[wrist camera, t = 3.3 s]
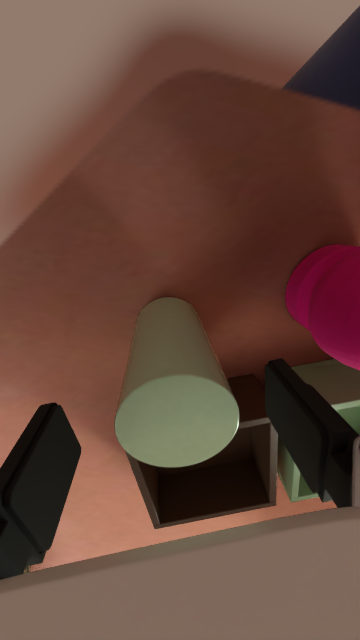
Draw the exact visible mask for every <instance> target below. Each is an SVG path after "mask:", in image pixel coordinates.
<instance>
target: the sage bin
mask: <svg viewBox="0 0 360 640" xmlns="http://www.w3.org/2000/svg"><path fill="white" fill-rule="evenodd" d="M291 368H292V369H293V370H294V371H295V372H296V373H297V374H298V376H299V377H300V378H301V379H302V380H303V381H304V382H305V383H306V384H310V385H311V386H313V387H314V388H315V389H316V390H317V391H318V392H319V394H320V395H321V396H322V397H323V398H324V399H325V400H326V401H327V402H328V403H329V404H330V405H331V406H332V407H333V408H334V409H335V410H336V411H337V412H338V413H339V414H340V415H341V416H342V417H343V418H344V419H345V420H346V422H347V423H348V424H349V425H350V426H351V427H352V428H353V429H354V430H355V431H356V432H357V433H358V434H359V435H360V370H357V369H355V368H352V367H350V366H347V365H344V364H343V363H341V362H339V361H338V360H336V359H331V360H325V361H320V362H315V363H309V364H304V365H299V366H293V367H291ZM277 473H278V475H279V478H280V480H281V482H282V484H283V486H284V488H285V490H286V492H287V495H288V497H289V499H290V501H291V502H295V501H300V500H305V499H311V498H316V497H319V496H318V494H317V493H313V492H312V491H311V490H310V488H309V487H308V485H307V483H306V482H305V480H304V478H303V476H302V475H301V473H300V471H299V470H298V468H297V466H296V464H295V463H294V461H293V459H292V458H291V456H290V454H289V452H288V451H287V449H286V447H285V446H284V444H283V442H282V440H281V439H280V437H279V435H278V448H277Z"/></svg>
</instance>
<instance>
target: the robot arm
mask: <svg viewBox="0 0 360 640" xmlns="http://www.w3.org/2000/svg"><path fill="white" fill-rule="evenodd" d="M265 410H266V414H267V416H268V418H269V420H270V421H271V423H272V425H273V427H274V428H275V430H276V432H277V433H278V435H279V437H280V439H281V440H282V442H283V444H284V446H285V447H286V449H287V451H288V452H289V454H290V456H291V458H292V459H293V461H294V463H295V464H296V466H297V468H298V470H299V471H300V473H301V475H302V476H303V478H304V480H305V482H306V483H307V485H308V487H309V488H310V490H311V491H312V492H313V493H317V494H318V496H319V497H320V499H321V501H322V502H327V501H332V500H333V501H334V503H335V504H336V506H337V507H338V508H334V509H326V510H320V511H314V512H309V513H304V514H298V515H293V516H288V517H282V518H277V519H272V520H268V521H263V522H258V523H253V524H249V525H244V526H239V527H234V528H230V529H225V530H220V531H215V532H211V533H206V534H201V535H197V536H192V537H187V538H183V539H178V540H173V541H169V542H164V543H159V544H155V545H150V546H146V547H141V548H136V549H132V550H127V551H123V552H118V553H114V554H109V555H105V556H100V557H96V558H91V559H87V560H82V561H78V562H73V563H69V564H64V565H60V566H55V567H51V568H46V569H42V570H38V571H34V572H30V573H26V574H23V573H24V570H25V567H26V566H30V565H35V564H39V563H42V562H43V559H44V556H45V553H46V551H47V550H49V549H50V547H51V545H52V542H53V539H54V536H55V533H56V530H57V527H58V524H59V521H60V517H61V514H62V511H63V508H64V505H65V502H66V499H67V496H68V492H69V489H70V486H71V483H72V480H73V477H74V474H75V470H76V467H77V464H78V461H79V458H80V455H81V446H80V444H79V442H78V440H77V438H76V436H75V433H74V431H73V429H72V427H71V425H70V423H69V421H68V419H67V417H66V415H65V413H64V411H63V408H62V407H61V405H57V403H49V404H44V405H41V406H39V408H38V409H37V411H36V412H35V414H34V416H33V417H32V419H31V420H30V422H29V424H28V425H27V427H26V428H25V430H24V432H23V433H22V435H21V436H20V438H19V439H18V441H17V443H16V444H15V446H14V447H13V449H12V451H11V452H10V454H9V455H8V457H7V459H6V460H5V462H4V463H3V465H2V467H1V468H0V640H360V435H359V434H358V433H357V432H356V431H355V430H354V429H353V428H352V427H351V426H350V425H349V424H348V423H347V422H346V420H345V419H344V418H343V417H342V416H341V415H340V414H339V413H338V412H337V411H336V410H335V409H334V408H333V407H332V406H331V405H330V404H329V403H328V402H327V401H326V400H325V399H324V398H323V397H322V396H321V395H320V394H319V392H318V391H317V390H316V389H315V388H314V387H313V386H311V385H310V384H306V383H305V382H304V381H303V380H302V379H301V378H300V377H299V376H298V374H297V373H296V372H295V371H294V370H293V369H292V368H291V367H290V366H289V365H288V364H287V363H286V362H285V361H284V360H283V359H282V358H280V359H275V360H270V361H269V362H268V364H266V365H265Z"/></svg>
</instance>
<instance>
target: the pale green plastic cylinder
mask: <svg viewBox="0 0 360 640" xmlns="http://www.w3.org/2000/svg"><path fill="white" fill-rule="evenodd" d="M238 425H239V407H238V405H237V402H236V399H235V397H234V395H233V392H232V390H231V388H230V385H229V383H228V381H227V379H226V376H225V374H224V372H223V369H222V367H221V365H220V362H219V360H218V358H217V355H216V353H215V351H214V348H213V346H212V344H211V342H210V339H209V337H208V335H207V332H206V330H205V328H204V325H203V323H202V321H201V318H200V316H199V314H198V312H197V311H196V309H195V308H194V307H193V306H192V305H191V304H189V303H188V302H186V301H184V300H182V299H178V298H173V297H165V298H160V299H156V300H154V301H152V302H150V303H149V304H147V305H146V306H145V307H144V308H143V309H142V310H141V311H140V313H139V315H138V317H137V319H136V323H135V327H134V332H133V336H132V341H131V346H130V350H129V355H128V360H127V364H126V369H125V373H124V378H123V383H122V387H121V392H120V397H119V401H118V406H117V410H116V415H115V422H114V427H115V433H116V437H117V439H118V441H119V443H120V444H121V446H122V447H123V449H124V450H125V451H126V452H127V453H129V454H130V455H131V456H132V457H134V458H136V459H137V460H139V461H142V462H144V463H147V464H150V465H154V466H158V467H172V468H173V467H184V466H189V465H194V464H197V463H200V462H203V461H205V460H207V459H209V458H211V457H213V456H214V455H216V454H217V453H219V452H220V451H221V450H223V449H224V448H225V447H226V446H227V445H228V444H229V443H230V441H231V440H232V438H233V437H234V435H235V433H236V431H237V428H238Z"/></svg>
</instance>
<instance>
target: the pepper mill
mask: <svg viewBox="0 0 360 640" xmlns="http://www.w3.org/2000/svg"><path fill="white" fill-rule="evenodd" d="M285 301H286V306H287V309H288V311H289V314H290V315H291V316H292V318H293V319H294V320H296V321H297V322H298V323H299V324H301V325H302V326H304V327H305V328H306V329H308V330H309V331H311V334H312V337H313V339H314V340H315V342H316V343H317V345H318V346H319V347H320V348H321V349H322V350H323V351H324V352H326V353H327V354H328V355H330V356H331V357H333V358H335V359H336V360H338V361H339V362H341V363H343V364H344V365H347V366H350V367H352V368H355V369H357V370H360V247H357V246H350V245H342V244H334V245H329V246H325V247H322V248H320V249H318V250H316V251H314V252H312V253H311V254H309V255H308V256H307V257H306V258H305V259H304V260H302V261H301V262H300V264H299V265H298V266H297V267H296V268H295V270H294V271H293V273H292V275H291V277H290V279H289V281H288V283H287V288H286V293H285Z"/></svg>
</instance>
